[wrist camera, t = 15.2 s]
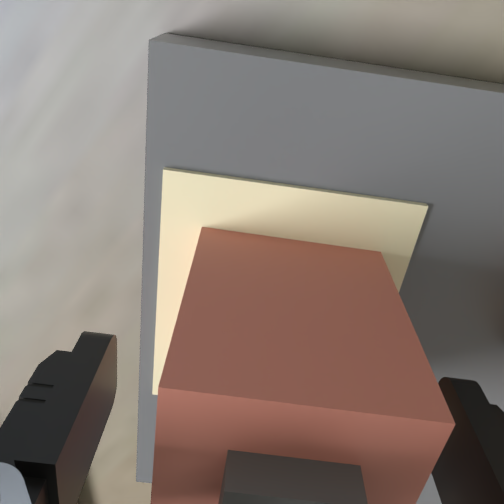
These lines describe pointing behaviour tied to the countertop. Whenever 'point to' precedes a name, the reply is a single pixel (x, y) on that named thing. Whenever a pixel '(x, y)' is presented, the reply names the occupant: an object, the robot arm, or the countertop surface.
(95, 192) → the countertop surface
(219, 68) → the panel
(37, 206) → the countertop surface
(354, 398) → the pink square block
